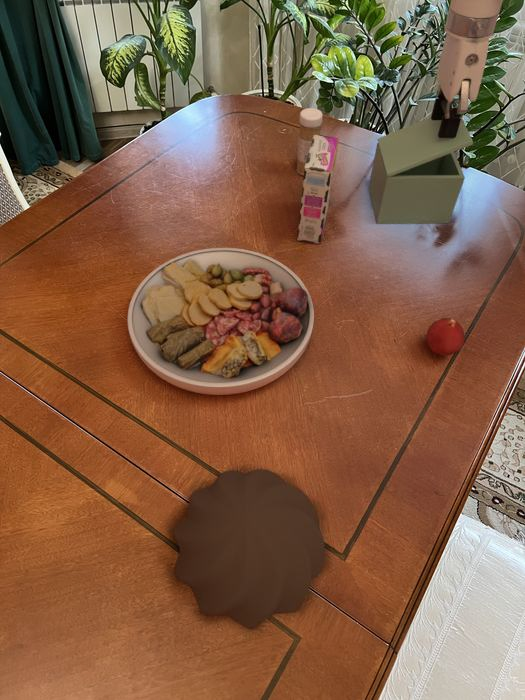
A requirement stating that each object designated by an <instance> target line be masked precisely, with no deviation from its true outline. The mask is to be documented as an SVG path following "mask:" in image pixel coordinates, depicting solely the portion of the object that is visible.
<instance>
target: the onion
mask: <svg viewBox="0 0 525 700" xmlns="http://www.w3.org/2000/svg"><path fill="white" fill-rule="evenodd" d="M425 340H426V344H427V346H428V347H429V349H430V350H431V352H433V353H434V354H437V355H440V356H449V355H453V354H456V353H457V352H458V351H459V350H460V349H461V348H463V345H464V340H465V331H464V327H463V326H462V325H461V324H460V323H459V322H458V321H457V320H456V319H454V318H451V317H443V318H440V319H438V320H435V321H433V323H432V324H430V326H429V327H428V329H427V331H426V336H425Z"/></svg>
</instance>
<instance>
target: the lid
mask: <svg viewBox="0 0 525 700" xmlns="http://www.w3.org/2000/svg"><path fill="white" fill-rule="evenodd" d="M447 101H448V100H447V99H443V100H442V101H441V107H442V109H443V112H444V114H445V113H446V107H447ZM457 106H458V105H455V106H454V107H457ZM454 107H453V106H452V108H451V110H452V109H453V108H454ZM441 121H442V120H432V119H431V116H430V117H427V118H425V119H424V118H423V119H421V120H420V121H416V122H415V123H412V124H409V125H407V126H405V127H402V128H400V129H398V130H396V131H393V132H390V133H389V134H386V135H383V136H381V137H378V138H376V141H377V143H378V144H379V147H380V151H381V155H382V158H383V162H384V165H385V169H386V172H387V176H388V177H390V176H393V175H396V174H398V173H401V172H403V171H406V170H408V169H411V168H414V167H416V166H419V165H421V164H424V163H426V162H429V161H432V160H434V159H437V158H439V157H442V156H445V155H447V154H450V153H452V152H454V153H455V152H457V151H460V150H462V149H464V148H467V147H470V146H472V145H474V140H473V139H472V136H471V134H470V132H469V130H468V128H467V126H466V124H465V121H464V119H463V118H462V119H461V121H460V125H459V128H458V132H457V135H456V137H455V138H439V137H438V132H439V128H440V125H441Z"/></svg>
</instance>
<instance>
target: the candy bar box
mask: <svg viewBox="0 0 525 700" xmlns="http://www.w3.org/2000/svg"><path fill="white" fill-rule="evenodd" d="M339 140H340V138H339V137H336V136H335V137H334V136H327V135H321V134H320V135H314V136H313V139H312V143H311V146H310V150H309V153H308V156H307V160H306V163H305V168H304V176H303V178H302V190H301V196H300V197H301V198H300V210H299V218H298V227H297V236H296V238H297V239H296V241H297V242H303V243H309V244H315V245H321V244H322V240H323V235H324V231H325V226H326V222H327V218H328V212H329V207H330V199H331V193H332V186H333V180H334V173H335V166H336V161H337V154H338V146H339Z"/></svg>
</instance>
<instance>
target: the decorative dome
mask: <svg viewBox="0 0 525 700" xmlns="http://www.w3.org/2000/svg"><path fill="white" fill-rule="evenodd" d="M319 523H320V518H319V516H318V513H317V511H316V508H315V506H314V504H313V503H312V500H311V499H310V498H309V496H308V495H307V494H306V492H304V491H303V490H301V488H299V487H297V486H295V485H293V484H291V483H288V482H287V481H286V480H285V479H284V478H283V477H282V476H280V475H278V474H277V473H275V472H274V471H272V470H269V469H265V468H258V469H253V470H251V471H249V472H244V471H240V470H234V469H231V470H229V469H228V470H225V471H223V472H221V473H220V474H219V475H217V477H216V479H215V480H214V481H213V483H212V484H211V485H210V486H206V487H200V488H198V489H196V490H194V491H193V492H192V493H191V495H190V496H189V500H188V511H187V514H186V515H185V516H184V517H183V518H181V520H179V521H178V522H177V523H176V524H175V525H174V527H173V529H172V536H173V537H174V540H175V541H176V544H177V545H178V547H179V552H178V555H177V559H176V562H175V565H174V569H173V572H174V575H175V576H176V578H177V579H178V580H179V581H181V582H183V583H185V584H186V586H188V587H189V588H190V589H191V590H192V592H193V595H194V598H195V602H196V605H197V607H198V610H199V612H200V613H201V614H202V615H204V616H223V617H229V618H230V619H232V620H234V622H237V623H238V624H240V625H241V626H243V627H244V628H246V629H247V630H253V629H255V628H257V627H258V626H260V625H261V624H262V623H264V622H265V621H266V620H267V619H268V618H270V617H271V616H274V615H278V614H279V615H281V614H289V613H297V612H299V610H300V609H301V607H302V606H303V604H304V603H305V601H306V598H307V596H308V593H309V591H310V588H311V583H312V582H313V580H314V579H316V578H317V577H318V575H320V574H321V573H322V571H323V570H324V568H325V558H326V547H325V541H324V536H323V533H322V531H321V529H320V525H319Z"/></svg>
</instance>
